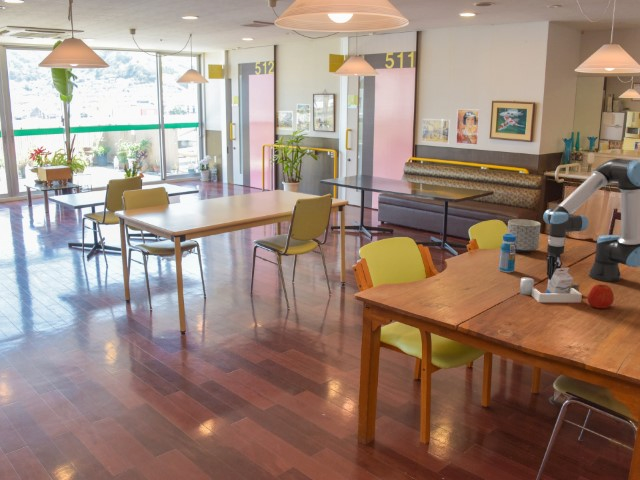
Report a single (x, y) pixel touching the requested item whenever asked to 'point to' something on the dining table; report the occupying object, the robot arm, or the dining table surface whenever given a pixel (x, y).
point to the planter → (525, 234)
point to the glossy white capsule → (526, 286)
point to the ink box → (560, 281)
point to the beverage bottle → (507, 253)
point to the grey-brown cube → (573, 285)
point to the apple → (600, 296)
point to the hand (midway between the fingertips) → (550, 291)
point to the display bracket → (557, 296)
